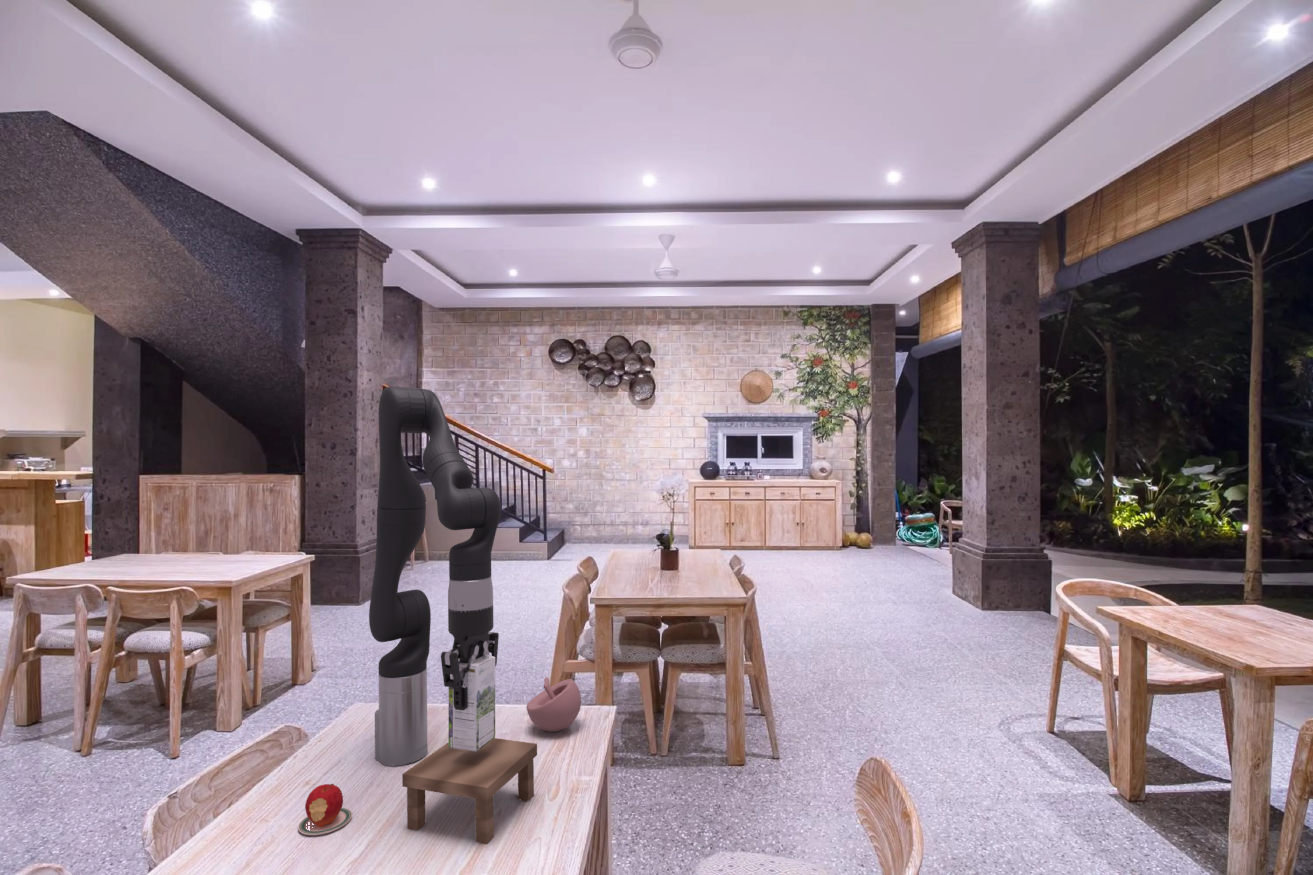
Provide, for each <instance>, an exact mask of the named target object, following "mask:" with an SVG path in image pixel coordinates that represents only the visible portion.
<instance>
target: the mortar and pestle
mask: <svg viewBox="0 0 1313 875" xmlns="http://www.w3.org/2000/svg"><path fill="white" fill-rule="evenodd" d="M543 679H544V684H543V689H544V690H543V691H541V692H540V693H539V694H537V695H536V696H534V697H533V698H532V699H530V700H529V701H528V702H527V704H526V710H527V711H526V712H527V715H528V717H529V718H530V721H531V722H532V723H533V725H534V726H536V727H537V728H539V729H540V730H542V731H545V732H550V733H553V732H554V733H555V732H559V731H562V730H564V729H567V728H568V727H569V726H571V725H572V724H573V723H574V722H575V720H576V719H577V717H578V715H579V714H580V713H579V712H580V711H581V707H582V696H581V692H580V689H579V686H578V685H577V683H576V682H575V681H574V680H573V678H568V679H564V680H561V681H559V682H558V683H555V684H553V685H552V686H551V685H550V679H549V677H545V678H543Z"/></svg>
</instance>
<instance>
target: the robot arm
mask: <svg viewBox="0 0 1313 875" xmlns="http://www.w3.org/2000/svg"><path fill="white" fill-rule="evenodd" d="M438 397H439V396H437V394H436V393H435V392H434V391H432V390H430V389H426V388H418V387H405V386H387V387H385V388H384V389H383V390H382V392H381V393H380V397H379V402H378V403H379V404H378V439H379V440H378V441H379V478H378V479H379V480H378V494H377V507H376V508H377V509H376V542H375V543H376V546H375V562H374V563H375V564H374V570H373V572H374V573H373V578H372V584H371V586H372V587H371V593H370V594H371V595H370V601H369V611H368V622H369V629H370V630H369V631H370V634H371V635H372V637H373V638H374V640H375V641H377V642H378V643H386V642H392V641H397V640H399V642H398V643H397V645H395V646H394V647H393V649H391V650H390V651H388V652H387V653H386V654H384V655H383V656H382V657H381V658H380V659H379V661H378V708H377V710H375V712H374V759H375V760H377V761H379V763H381V765H385V766H390V767H391V766H393V767H394V766H404V765H409V764H411V763H415V762H417V761H419V760H421V759H424V757H425V756H427V754H428V679H427V678H428V666H427V664H428V658H429V655H430V646H431V644H430V641H431V625H432V624H431V622H432V621H431V620H432V618H431V615H432V614H431V605H430V601H429V598H428V596H427V594H425V592H424V591H423V590H421V589H411V590H410V589H409V590H403V591H398V590H399V583H400V578H401V575H402V572H403V570H404V568H405V566H406V563H407V562H408V560H409V559H410V557H411V555H412V554H413V552H414V550H416V547H417V545H419V542H420V540H421V538H422V536H423V534H424V532H425V527H426V513H427V512H426V509H427V498H426V497H427V496H426V494H425V492H424V489H423V487H422V486H421V483H420V482H419V481H418V479H417V478H416V475H415V474H414V473H413V470H411V468H410V466H409V465H408V463H407V459H406V458H405V455H404V450H403V445H402V434H423V433H424V434H426V435H427V436H428V437H429V439H428V442H427V443H426V446H425V448H424V450H423V454H422V465H423V469H424V472H425V474H426V475H427V478H428V479H429V481H430V483H431V485H432V487H433V489H434V493H435V498H436V506H437V507H436V508H437V517H438V521H439V523H440V524H441V525H442V526H443V527H445V528H446V529H447V530H451V531H462V530H472V529H473V532H472V533H471V535H470V537H469V538H467V540H465V541H462V542H460V543H457V544H454V545H453V546H451V547H450V549H449V554H448V562H449V563H448V567H449V568H448V574H449V575H448V577H449V580H448V588H447V589H448V591H447V612H448V613H447V619H448V620H447V622H448V624H447V625H448V630H447V631H448V633H449V634H450V635H451V636H453V643H452V648H451V649H450V650H449V651H442V652H440V659H441V660H440V662H441V669H442V670H441V671H442V679H443V686H444V687H448V688H449V687H453V698H454V708H455V709H456V710H465V709H467V707H468V687H467V683H468V673H470V667H471V664H473V663H475V660H476V659H478V658H480V657H482V656H483V657H486V656H488V655H491V656H494V657H495V668H496V666H497V663H498V652H499V638H500V637H499V636H500V634H499V632H495V631H492V630H493V629H494V587H493V586H494V585H493V581H492V580H493V579H492V551H493V546H494V544H495V543H494V542H495V536H496V532H497V529H498V526H499V523H500V518H501V513H502V504H501V501H500V500H501V499H500V497H499V495H498V494H497V492H496V491H495V490H494V489H492V488H490V487H472V486H473V483H474V476H473V474H472V473H473V472H472V470H471V469H470V468H469V466H468V464H467V462H466V461H465V459H464V458H463V456H462V454H461V453H460V452H459V450H458V447H457V446H456V444H455V441H454V439H453V435H452V432H451V429H450V426H449V423H448V420H447V417H446V414H445V412H444V409H443V406H442V404H441V402H440V399H439V398H438ZM459 663H468V665H467V667H465V668H462V667H459ZM460 672H463V677H462V680H461V679H460ZM450 674H452V675H453V676H452V679H451V678H450Z"/></svg>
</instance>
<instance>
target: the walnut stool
mask: <svg viewBox="0 0 1313 875" xmlns="http://www.w3.org/2000/svg"><path fill="white" fill-rule="evenodd" d="M537 756H538V743H533V742H525V741H520V740H512V739H511V740H510V739H503V738H498V737H497V738H496V737H495V738H494V739H493V740H491V741H490V742H489V743H487V744H486V745H485V746H483V747H482V748H481V749H479V750H478V751H468V750H461V749H454V748H449V746H448V742H447V743H445V744H444V745H442V746H441V747H440V748H438V749H436V750H435V751H434V752H432V753H431V754H429V755H427V757H425V758H422V760H421V761H419V762H418V763H416V764H415V765H413V766H412V767H410V768H409V769H408V770H406V771H405V772H404V773H402V774H401V775H402V777H401V778H402V779H401V780H402V781H401V782H402V786H401V787H404V788H406V807H407V808H406V810H407V811H406V813H407V814H406V819H407V821H406V822H407V824H406V826H407V828H406V829H408V830H411V831H419V830H420V829H422V828H423V827H424V826H426V820H427V819H426V818H427V817H426V791H427V792H432V793H437V794H438V793H439V794H444V795H451V796H457V797H464V798H467V799H475V800H474V803H475V806H474V807H475V810H474V812H475V842H476V843H479V844H485V845H487V844H489V842H491V841H492V839H493V838H494V837H495V830H494V828H495V827H494V826H495V824H494V823H495V820H494V819H495V818H494V815H495V812H494V808H495V806H494V795H496V794H497V793H498V792H499V791H500V790H501V789H502V788H503V787H505V785H506V784H507V783H509V782H510V781H511V780H512V779H513V778H514V777H515V776H516V775H517V800H519V801H523V802H529V801H531V799H532V798H534V796H535V787H534V786H535V785H534V784H535V783H534V782H535V777H534V773H535V772H534V770H535V769H534V765H535V764H534V759H535V758H536V757H537Z"/></svg>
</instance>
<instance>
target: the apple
mask: <svg viewBox="0 0 1313 875" xmlns="http://www.w3.org/2000/svg"><path fill="white" fill-rule="evenodd" d="M343 805H344V796H343V792H342V790H341V788H340V787H339V786H337V785H335V784H334V783H331V784H330V783H327V784H326V783H325V784H321V785H318V786H317V787H314V788H313V789H312V790H311V792H310V793H309V794H308V796H307V799H306V801H305V813H306V817H304V818H303V819H302V820H301V821H300V822H299V823H298V831H299V832H300V833H301V834H303V835H306V836H319V835H325V834H328V833H331V832H334V831H337V830H339V829H341V828H342V827H344V826H346V825H347V824H348V823H349V822H350V820H351V819H352V817H353V812H352V811H351V809H349V808H346V807H343ZM308 822H310V825H308ZM312 823H313V824H314V825H312ZM306 824H307V826H306ZM308 826H310V831H309V830H307V829H308ZM306 827H307V829H306ZM312 827H313V828H312Z"/></svg>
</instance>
